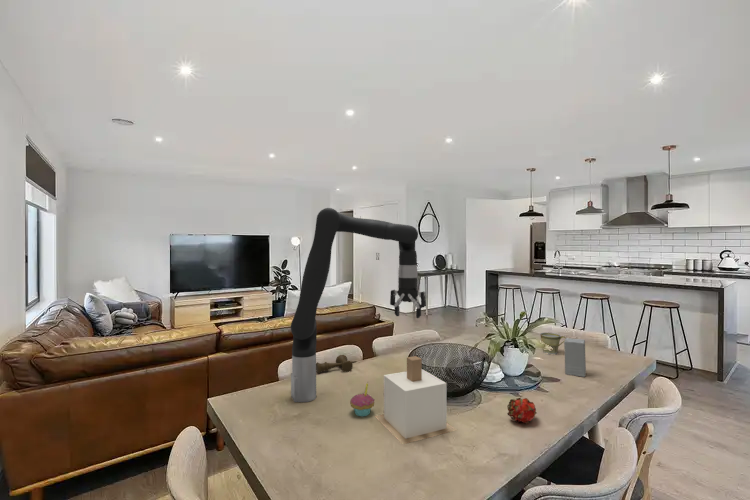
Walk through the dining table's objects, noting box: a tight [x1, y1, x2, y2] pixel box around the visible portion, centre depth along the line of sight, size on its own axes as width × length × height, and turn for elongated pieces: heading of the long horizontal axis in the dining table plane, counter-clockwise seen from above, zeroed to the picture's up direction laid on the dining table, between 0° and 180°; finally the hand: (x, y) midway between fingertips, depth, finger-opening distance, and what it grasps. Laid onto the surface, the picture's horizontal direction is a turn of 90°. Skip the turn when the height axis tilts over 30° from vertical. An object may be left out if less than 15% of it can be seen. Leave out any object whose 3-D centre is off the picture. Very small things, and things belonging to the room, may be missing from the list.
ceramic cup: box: [540, 332, 567, 355], centre depth 205 cm, size 13×10×10 cm
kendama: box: [316, 354, 358, 374], centre depth 180 cm, size 6×10×20 cm
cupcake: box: [350, 381, 375, 417], centre depth 133 cm, size 9×8×12 cm
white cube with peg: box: [383, 355, 448, 439], centre depth 126 cm, size 15×15×22 cm
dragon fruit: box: [507, 397, 538, 425], centre depth 129 cm, size 8×8×12 cm
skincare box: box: [563, 337, 587, 378], centre depth 173 cm, size 8×7×16 cm
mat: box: [374, 413, 457, 445], centre depth 126 cm, size 20×20×1 cm
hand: (407, 316), depth 150 cm, fingers open, 8 cm apart
